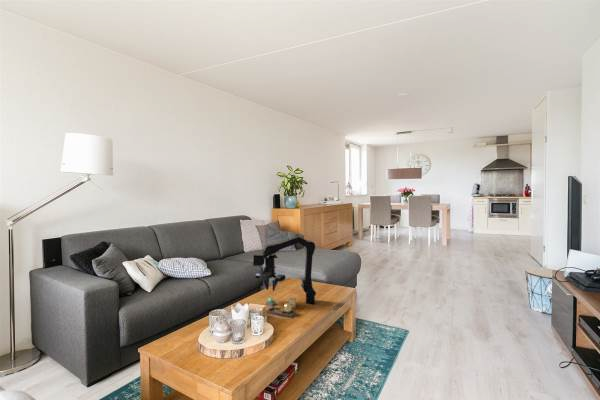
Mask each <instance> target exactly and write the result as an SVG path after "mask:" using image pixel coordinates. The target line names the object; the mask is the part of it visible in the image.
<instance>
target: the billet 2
mask: <svg viewBox="0 0 600 400" xmlns="http://www.w3.org/2000/svg"><path fill="white" fill-rule="evenodd" d="M296 301H297V299H296V297H289V298H288V303H291V310H293V309H296V308H297V302H296Z"/></svg>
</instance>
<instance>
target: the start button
mask: <svg viewBox="0 0 600 400" xmlns="http://www.w3.org/2000/svg"><path fill="white" fill-rule="evenodd" d="M267 301H268V302H269V303H272V302H273V301H274V298H273V297H268V300H267Z"/></svg>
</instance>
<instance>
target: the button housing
mask: <svg viewBox="0 0 600 400" xmlns="http://www.w3.org/2000/svg"><path fill="white" fill-rule="evenodd" d="M276 303H277V302H276V300H273V302H272V303H269V302H268V300H267V301H265V306H268V307H274V305H276Z"/></svg>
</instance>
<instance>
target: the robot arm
mask: <svg viewBox="0 0 600 400" xmlns="http://www.w3.org/2000/svg"><path fill="white" fill-rule="evenodd" d="M297 244H298V245H301V246H303V247H304V252H305V263H304V264H305V265H304V276H303V278H301V283H300V287H302V290H303V292H304V293H305V302H304V304H307V305H313V306H315V304H317V301H316V294H317V291H316V290H315V288H314V287H313V282H312V270H313V269H312V268H313V256H314V253H315V249H316V243H314V241H312V240H310V239H308V240H307V239H305V238H303V237H300V236H298V235H297V236H294V237H292V238H288V239H287V240H283V241H281V242H276V243H269V244H266V245H265V246H264V250H263V251H262V253H261V254H253V256H252V257H253V260H252V262H253V263H252V265H253V267H263V266H265V267H263V271H259V272H257V273H256V274H255V275H254V276H255V277H254V278H255V279H257V280H258V279H260V281H262V282H263V284H264V286H265V289H266V291H268V290H269V288H270V287H269V286H270V279H272V280H271V283H272V292H275V290H276V288H277V285H278V282H279V283H280V282H283V281H285V280H286V275H285V274H280V273H279V274H278V275H277V272H276V271H275V270H276V268H277V266H275V265H276V264H275V259H278V256H277V254H276V253H277V252H279V251H280V250H283V249H285V248H288V247H291V246H294V245H297Z"/></svg>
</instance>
